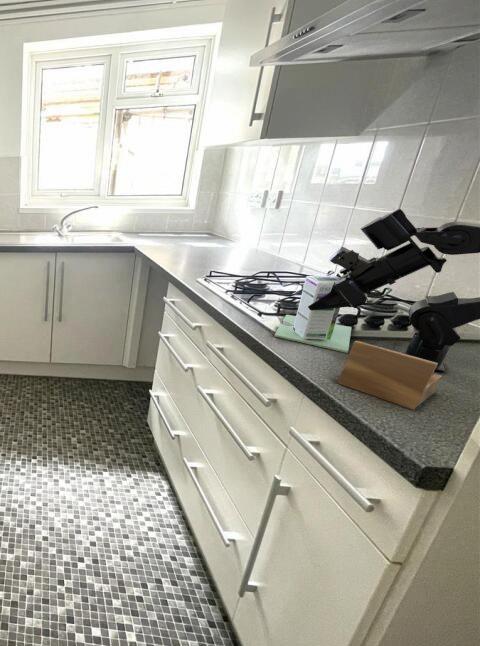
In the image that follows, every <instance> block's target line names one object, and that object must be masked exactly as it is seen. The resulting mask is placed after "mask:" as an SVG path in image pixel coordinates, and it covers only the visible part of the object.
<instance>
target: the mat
mask: <svg viewBox="0 0 480 646" xmlns="http://www.w3.org/2000/svg"><path fill="white" fill-rule="evenodd" d="M295 319H296V315H291V314H286V315H285V316H284V318H283V320H282V321H284V322H285V321H286V322H289V323H290V324H292V325H294V323H295ZM293 327H294V326H285V325H283V324H281V323H280V325H279V327H278V328H277V330H276V331H275V333H274V336H273V337H276V338H279V339H283V340H287V341H292V342H297V343H301V344H306V345H311V346H313V347H314V346H315V347H319V348H323V349H327V350H332V351H337V352H342V353H344V354H345V353H346V354H348V353H349V348H350V341H351V335H352V326H349V325H347V326H346V325H343V324H338V323H335V326H334V330H333V333H332V336H331V339H330V340H326V339H302V338H301V337H300V336H299V335H298V334H297V333H296V332H295V331H294V330H293Z"/></svg>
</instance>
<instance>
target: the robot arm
mask: <svg viewBox="0 0 480 646" xmlns="http://www.w3.org/2000/svg"><path fill="white" fill-rule="evenodd" d="M360 230H361V232H362V233H363V234H364V235H365V237H366V238H367V239H368V240H369V241H370V242H371V243H372V244H373V246H374V247H375V248H376V249H377V250H382V249H384V250H386V251H387V252H388V251H390V252H388V253H386V254H384V255H382V256H380V257H378V256H377V257H375V256H373V257H371V258H369V259H367V258H365V257H363V256H362V255H360V253H359V252H356V251H354V250H353V249H349V248H347V247H345V246H341V247H340V248H338V250H336V252H335V253H334V254H333V255H332V256H330V257H329V262H331V263H332V264H334V265H338V266H340V267H341V268H342V269H339V272H338V273H336V275H335V276H337V277H340V278H342V279H341V280H339V281H337V282H336V283H335V282H334V283H333V286H332V289H331V291H330V292H329V293H327V294H326V295H324V296H323V297H321V298H320V299H318V300H317V301H315V302H314V303H312V304H311V305H309V306H308V308H309V309H310V310H320V309H330V308H340V309H341V308H353V309H357V308H359V307H361V306H364V305H365V304H366V303H367V300H368V296H369V295H370V294H371V295H372V294H373V291H375V290H377V289H380V288H382V287H384V286H387V285H389V286H392V285H394V284H395V283H397V281H398V280H400V279H403V278H405V277H407V276H409V275H412V274H413V273H416V272H418V271H420V270H422V269H425V268H427V267H429V266H430V267H431V268H432V270H433V271H434V272H435V273H437V274H439V273H441V272H442V270H443V266H444V265H445V264H446V262H448V260H447V259H446V257H438V256H437V255H436V254H435V252H434V251H433V250H432V249H431V248H430V247H429V246H433V247H434V249H435V250H436V251H438V252H439V253H441V254H443V255H449V256H456V255H457V256H458V255H459V256H460V255H468V254H469V255H470V254H480V224H478V223H473V222H472V223H471V222H464V221H451V222H447V223H444V224H441V225H440V226H438V227H437V226H436V227H424V226H422V227H416V226H414V224H413V223H412V222H411V221H410V220H409V218H408V217H407V216H406V213H405V212H404V211H403V209H401V208H398V209H396V210H394V211H392V212H389V213H387V214H385V215H383V216H379V217H377V218H376V219H373V220H372V221H370V222H368V223H367V224H365V225H364V226H362V227H361V228H360ZM414 236H415V238H417V240H418V241H419V242H420V243H422V244H426V245H429V246H424V247H420V246H419V245H418V244H417V242H415V240H414V239H413V238H412V237H414ZM408 242H409V243H408ZM405 243H407V244H405ZM403 244H405V245H403ZM399 246H401V247H399ZM397 247H398V248H397ZM393 249H394V250H393ZM391 250H393V251H391ZM424 298H425V299H421V300H417V301H415V302H414V303H413V304H412V305H411V306H410V307H409V309H408V319H409V322H410V325H411V326H412V328H414V329H415V330H417V331H416V332H414V333H413V336H412V337H411V340H410V342H409V344H408V346H407V348H406V349H405V352H400V353H403V354H407V355H410V356H414V357H417V358H421V359H425V360H428V361H432V362H435V363H438V365H437V366H436V368H435V370H434V372H439V373H444V372H446V369H445V366H444V363H443V362H444V360H445V358H446V356H447V355H448V353H449V351H450V348H451V347H452V346H454V345H455V344H456V343H457V342H459V341H460V340H461V335H460V333H459V332H458V330H457V328H460V327H462V326H465V325H467V324H469V323H472V322H475V321H479V320H480V296H478V297H471V298H470V297H469V298H467V297H458V296H457V294H456V293H455V291H451V292H447V293H446V292H445V293H443V294H438V295H425V296H424Z"/></svg>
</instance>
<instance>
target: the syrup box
mask: <svg viewBox="0 0 480 646" xmlns="http://www.w3.org/2000/svg"><path fill="white" fill-rule="evenodd" d="M341 279H342V278H340V277H337V276H336V275H334V274H333V275H306V276H305V280H304V283H303V288H302V291H301V296H300V299H299V304H298V307H297V312H296V315H295V316H296V319H295V323H294V328H295V332H296V333H297V334H298V335H299V336H300V337H301V338H302V339H326V340H330V339H331V336H332V333H333V330H334V326H335V324H337V319H338V316H339V313H340V309H341V308H330V309H320V310H310V309H309V308H308V306H309V305H311V304H312V303H314V302H315V301H317V300H318V299H320V298H321V297H323V296H324V295H326V294H327V293H329V292H330V291H331V289H332V286H333V283H334V282H335V283H336V282H337V281H339V280H341Z"/></svg>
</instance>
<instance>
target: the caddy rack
mask: <svg viewBox="0 0 480 646" xmlns="http://www.w3.org/2000/svg"><path fill="white" fill-rule="evenodd" d="M403 353H404V352H402V353H401V352H399V351H395V350H392V349H390V348H389V349H388V348H385V347H381V346H378V345H374V344H371V343H367V342H363V341H360V340H355V341H354V342H353V344H352V347H351V349H350V351H349V355H348V356H347V359H346V361H345V364H344V367H343V369H342V371H341V373H340V375H339V377H338V378H339V379H338V381H337V384H339V385H342V386H344V387H347V388H350V389H353V390H355V391H359V392H361V393H365V394H367V395H370V396H372V397H376V398H378V399H381V400H384V401H386V402H390V403H393V404H395V405H398V406H401V407H404V408H407V409H409V410H411V411H412V410H413V411H414V410H415V409H416V408H417V407H419V406H420V405H421V404H423V403H424V402H425V401H426V400H427V399H429V398H430V397H432V395H433V394H434V392H435V390H436V388H437V386H438V385H439V382H440V381H441V378H442V375H441V374H438V373H435V371H434V370H435V368H436V366H437V365H438V363H435V362H432V361H428V360H425V359H421V358H417V357H414V356H410V355H407V354H403Z"/></svg>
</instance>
